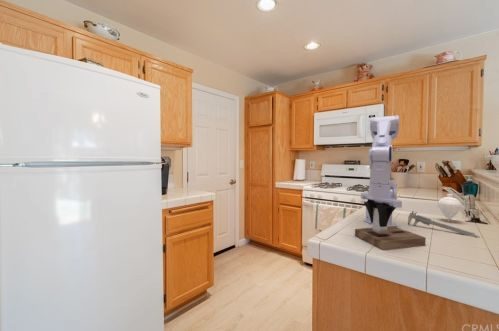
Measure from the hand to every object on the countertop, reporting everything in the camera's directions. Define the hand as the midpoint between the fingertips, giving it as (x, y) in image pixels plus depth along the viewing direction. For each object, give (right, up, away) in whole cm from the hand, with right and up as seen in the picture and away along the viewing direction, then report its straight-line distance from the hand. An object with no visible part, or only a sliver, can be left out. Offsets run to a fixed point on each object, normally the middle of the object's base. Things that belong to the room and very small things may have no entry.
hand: (378, 224), depth 72 cm
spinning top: (+44, -5, +23) cm, 50 cm away
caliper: (+30, -6, +12) cm, 33 cm away
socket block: (+4, -6, +1) cm, 7 cm away
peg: (0, -3, 0) cm, 3 cm away
